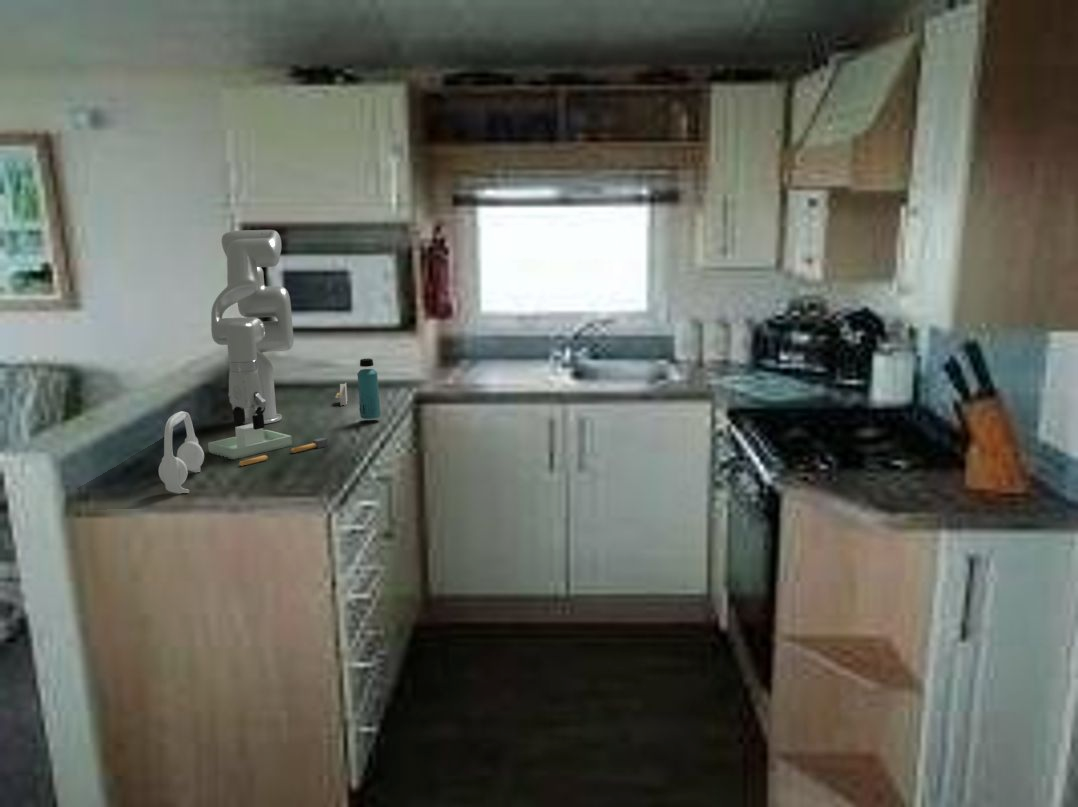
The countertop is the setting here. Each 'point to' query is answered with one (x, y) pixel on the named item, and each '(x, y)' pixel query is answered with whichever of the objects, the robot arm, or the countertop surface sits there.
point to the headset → (180, 455)
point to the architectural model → (342, 394)
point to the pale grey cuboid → (248, 435)
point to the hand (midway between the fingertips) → (249, 425)
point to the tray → (231, 451)
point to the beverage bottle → (368, 391)
